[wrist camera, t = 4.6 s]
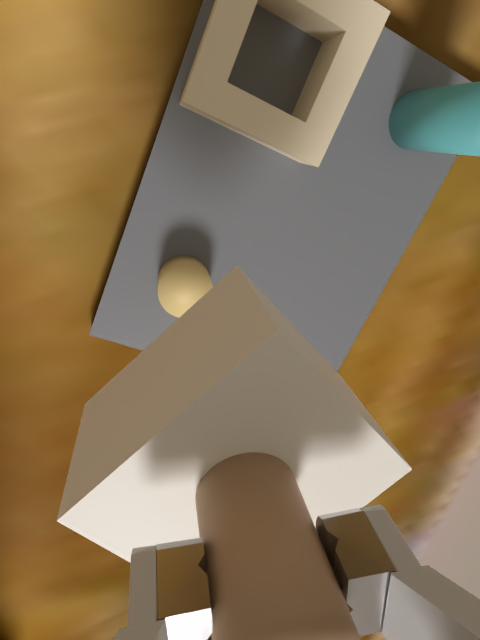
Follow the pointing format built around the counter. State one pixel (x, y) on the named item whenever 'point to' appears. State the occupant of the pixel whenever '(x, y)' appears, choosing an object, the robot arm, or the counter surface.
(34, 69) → the counter surface
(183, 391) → the cover
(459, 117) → the pin
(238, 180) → the board
